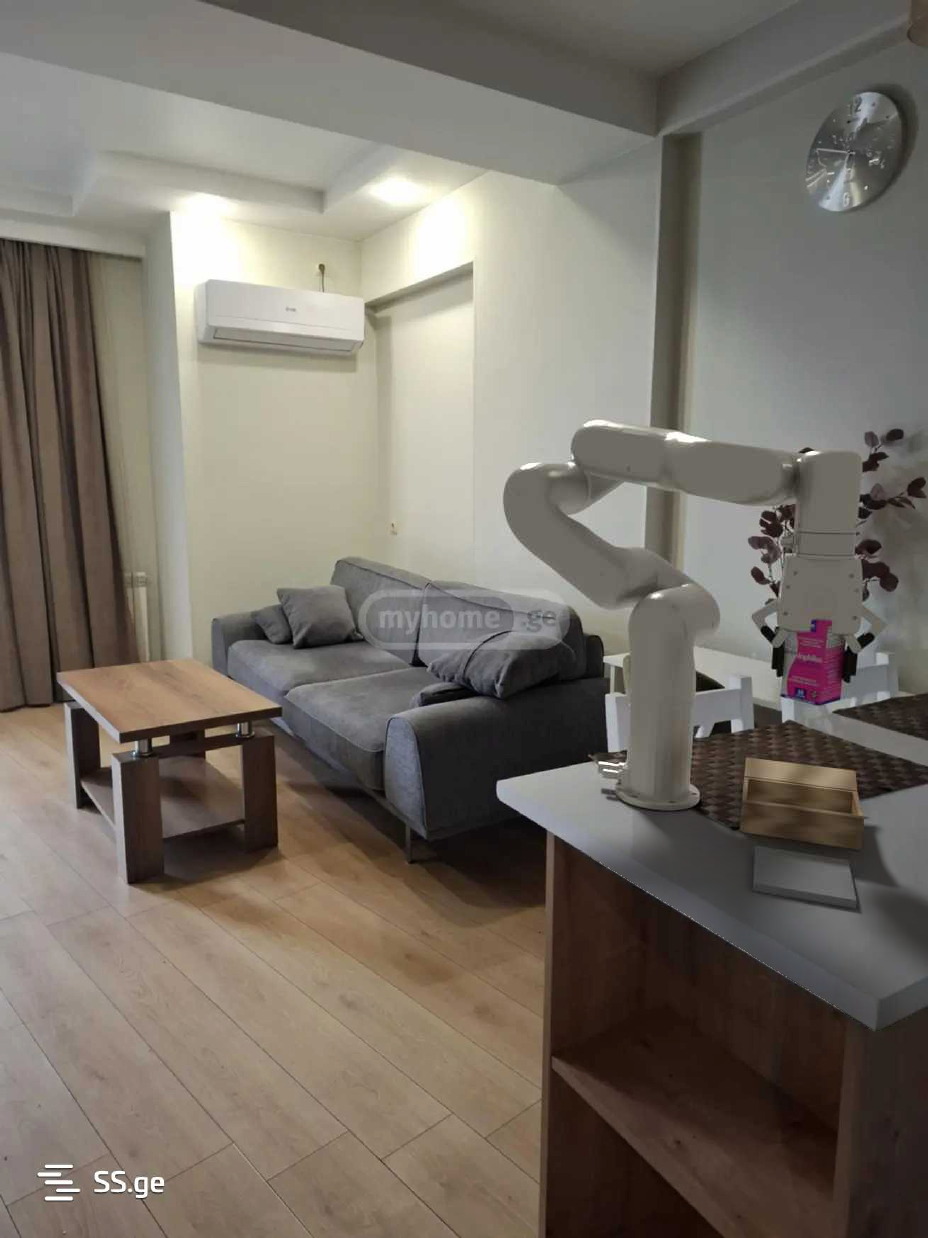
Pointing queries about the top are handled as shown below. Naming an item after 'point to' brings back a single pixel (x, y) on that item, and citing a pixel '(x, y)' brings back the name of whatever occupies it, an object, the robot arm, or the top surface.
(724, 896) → the top surface
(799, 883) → the mat
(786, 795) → the wooden crate
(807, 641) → the supplement box
